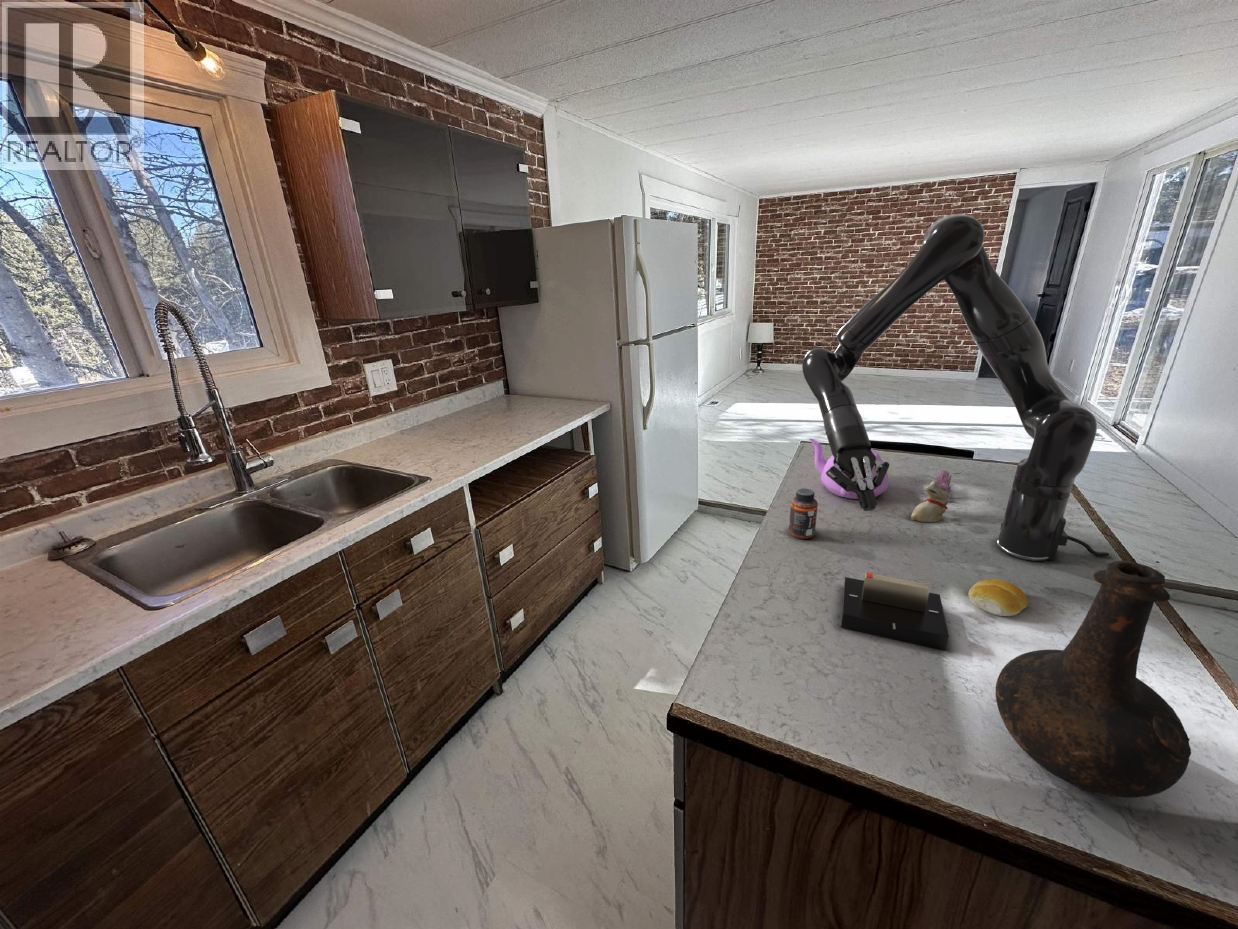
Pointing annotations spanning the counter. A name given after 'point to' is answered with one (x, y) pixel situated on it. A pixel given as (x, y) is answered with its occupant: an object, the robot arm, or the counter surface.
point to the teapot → (833, 486)
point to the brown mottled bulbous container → (1099, 697)
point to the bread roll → (998, 597)
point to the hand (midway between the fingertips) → (870, 509)
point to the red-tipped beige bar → (895, 592)
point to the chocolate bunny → (932, 505)
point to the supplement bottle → (803, 514)
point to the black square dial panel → (894, 618)
